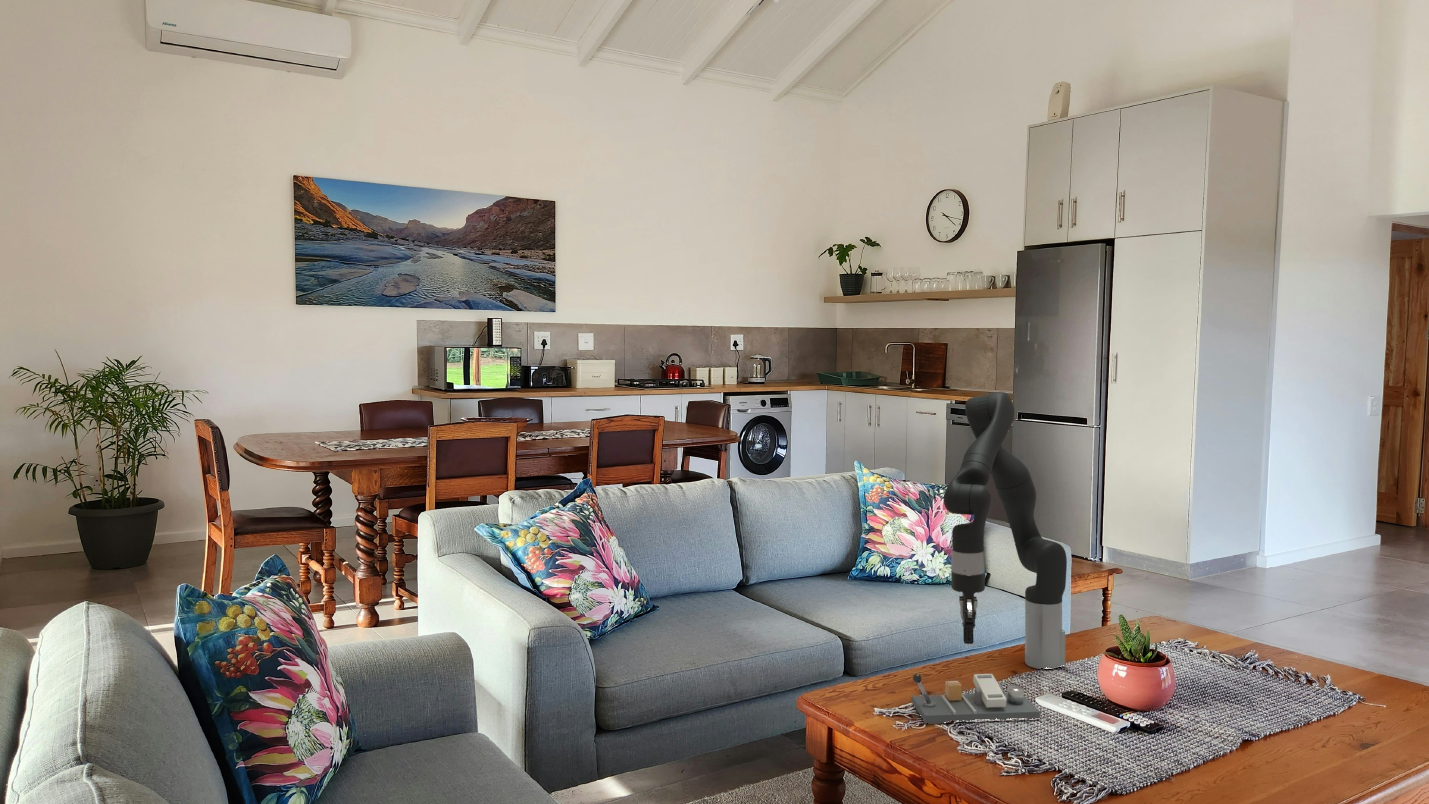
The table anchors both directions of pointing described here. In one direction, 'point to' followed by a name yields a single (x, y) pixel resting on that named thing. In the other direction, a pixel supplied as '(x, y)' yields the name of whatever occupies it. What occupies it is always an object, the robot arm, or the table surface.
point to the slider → (953, 690)
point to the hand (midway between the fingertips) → (968, 642)
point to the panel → (970, 708)
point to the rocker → (989, 690)
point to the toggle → (921, 687)
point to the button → (1015, 694)
